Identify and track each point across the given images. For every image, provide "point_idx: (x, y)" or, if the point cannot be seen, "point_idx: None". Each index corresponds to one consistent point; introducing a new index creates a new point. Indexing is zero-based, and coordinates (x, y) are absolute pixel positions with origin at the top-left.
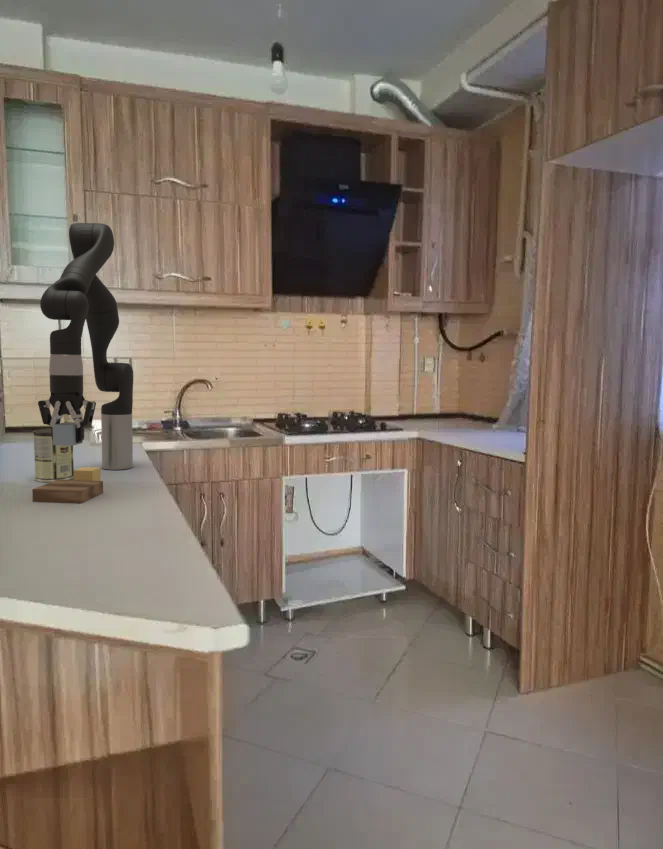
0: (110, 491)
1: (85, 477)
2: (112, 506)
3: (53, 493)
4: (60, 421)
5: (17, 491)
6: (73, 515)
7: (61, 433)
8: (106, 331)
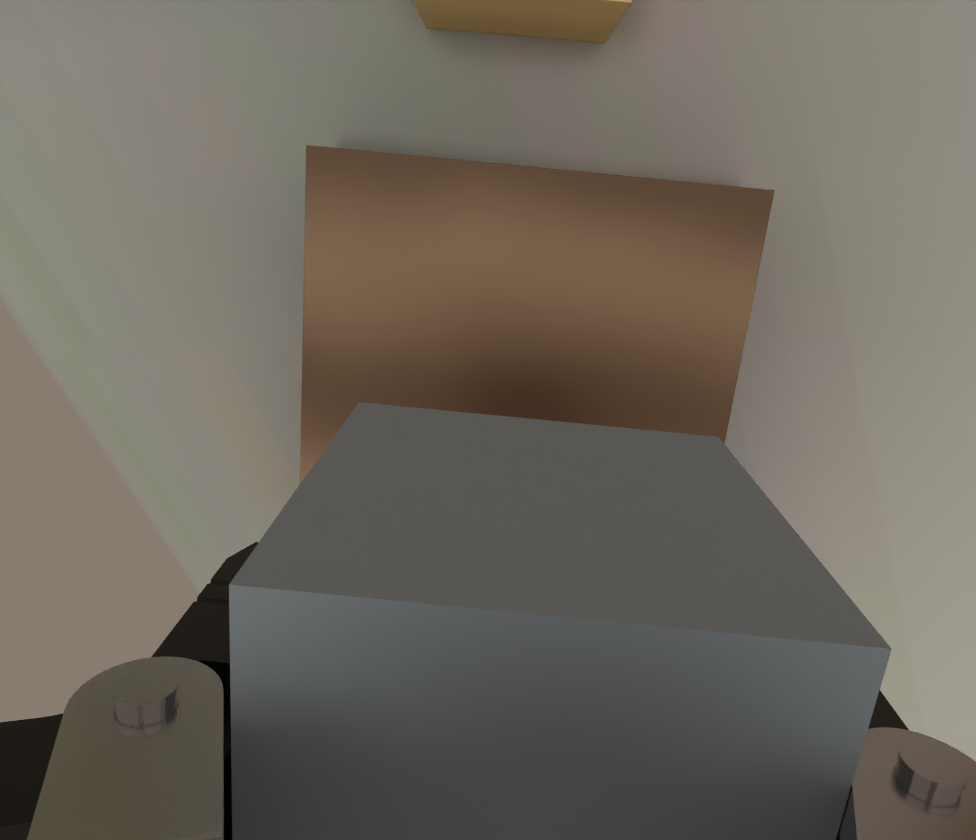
0: (793, 132)
1: (543, 14)
2: (905, 624)
3: None
4: (223, 773)
5: (11, 192)
6: None
7: None
8: None
